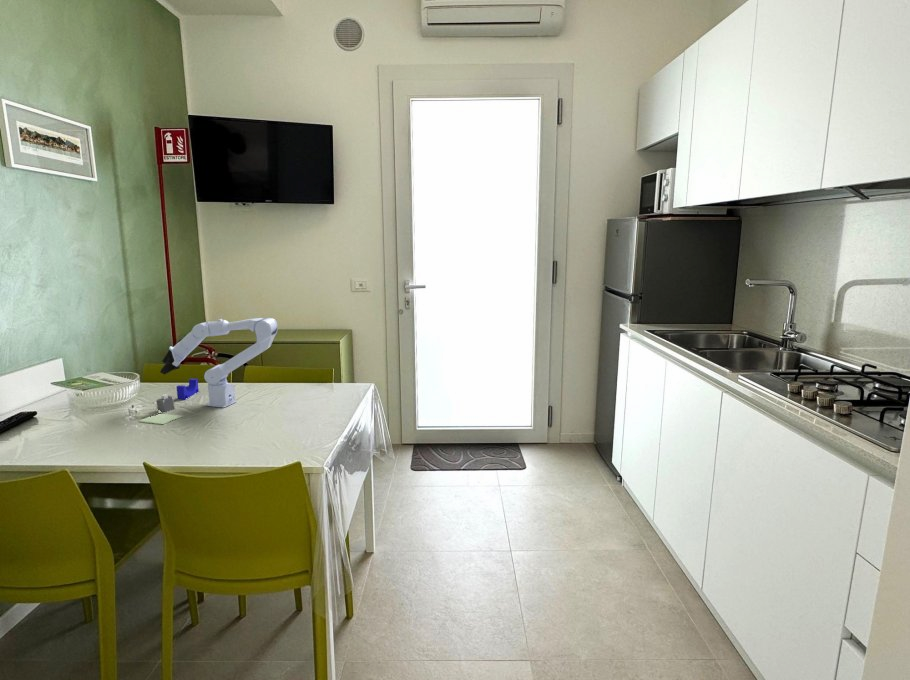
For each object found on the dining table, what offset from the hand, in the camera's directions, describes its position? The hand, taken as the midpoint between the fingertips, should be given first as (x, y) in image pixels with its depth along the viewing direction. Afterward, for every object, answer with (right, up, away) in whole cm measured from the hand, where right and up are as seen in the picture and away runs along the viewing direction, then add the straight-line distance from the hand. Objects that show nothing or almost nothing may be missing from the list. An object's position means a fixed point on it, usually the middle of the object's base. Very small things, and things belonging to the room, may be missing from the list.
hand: (163, 367), depth 214 cm
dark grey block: (+4, -17, -5) cm, 18 cm away
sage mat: (+7, -18, -15) cm, 25 cm away
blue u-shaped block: (+2, -13, +15) cm, 20 cm away
